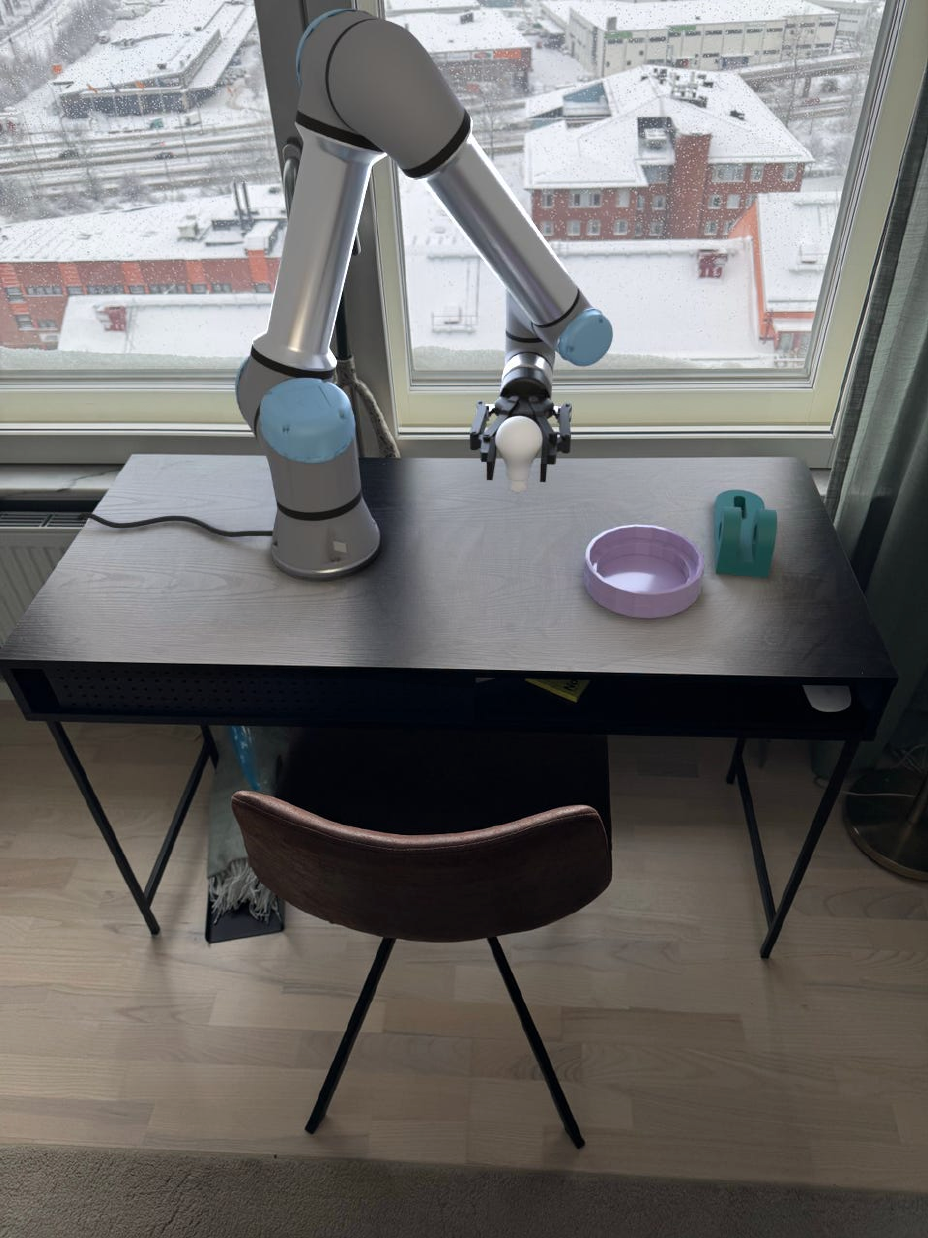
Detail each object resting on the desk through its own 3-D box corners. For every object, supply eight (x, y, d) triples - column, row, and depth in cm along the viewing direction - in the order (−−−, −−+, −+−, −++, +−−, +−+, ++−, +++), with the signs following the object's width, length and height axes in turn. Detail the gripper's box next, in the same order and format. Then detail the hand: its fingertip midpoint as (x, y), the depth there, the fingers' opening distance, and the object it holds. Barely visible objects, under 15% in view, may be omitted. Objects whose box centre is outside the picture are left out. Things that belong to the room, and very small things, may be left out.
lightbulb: (511, 475, 130) (512, 403, 122) (549, 488, 127) (552, 415, 120) (486, 495, 126) (486, 421, 119) (524, 509, 123) (526, 434, 116)
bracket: (767, 577, 124) (778, 528, 119) (715, 573, 125) (724, 524, 120) (760, 504, 138) (769, 457, 133) (713, 500, 139) (721, 454, 134)
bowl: (566, 603, 121) (568, 575, 118) (606, 541, 132) (608, 514, 129) (681, 634, 116) (685, 606, 113) (712, 567, 126) (717, 540, 123)
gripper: (590, 415, 137) (590, 499, 120) (461, 411, 139) (442, 494, 122) (593, 367, 133) (594, 448, 115) (460, 364, 134) (440, 443, 117)
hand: (516, 471), depth 118 cm, fingers closed on lightbulb, 6 cm apart
